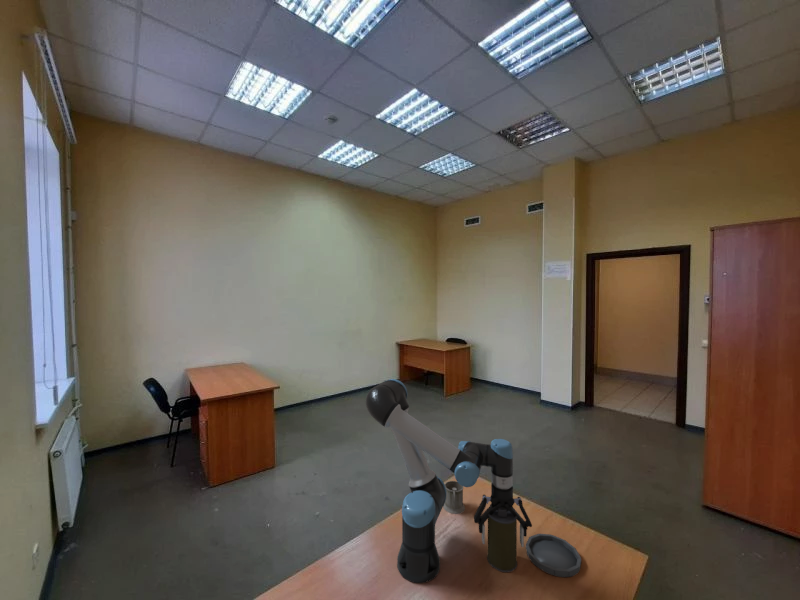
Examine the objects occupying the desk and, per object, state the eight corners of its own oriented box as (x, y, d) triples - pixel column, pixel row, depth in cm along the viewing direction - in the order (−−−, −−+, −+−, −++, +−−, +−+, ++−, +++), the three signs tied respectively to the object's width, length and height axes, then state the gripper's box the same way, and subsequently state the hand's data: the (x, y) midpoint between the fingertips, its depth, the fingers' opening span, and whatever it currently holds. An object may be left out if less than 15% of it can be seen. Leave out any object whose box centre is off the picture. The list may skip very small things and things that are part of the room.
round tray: (534, 574, 114) (534, 568, 114) (521, 537, 132) (521, 532, 132) (589, 579, 112) (589, 573, 112) (568, 541, 129) (568, 536, 129)
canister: (519, 574, 113) (519, 516, 114) (487, 569, 116) (488, 512, 116) (514, 551, 124) (514, 498, 124) (486, 547, 126) (486, 494, 126)
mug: (443, 499, 156) (443, 474, 156) (464, 501, 155) (464, 475, 155) (442, 519, 142) (443, 491, 142) (466, 521, 141) (466, 493, 141)
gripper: (468, 487, 118) (468, 547, 118) (540, 492, 115) (541, 553, 115) (466, 476, 125) (466, 532, 125) (534, 480, 122) (535, 538, 122)
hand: (502, 542), depth 120 cm, fingers open, 13 cm apart
